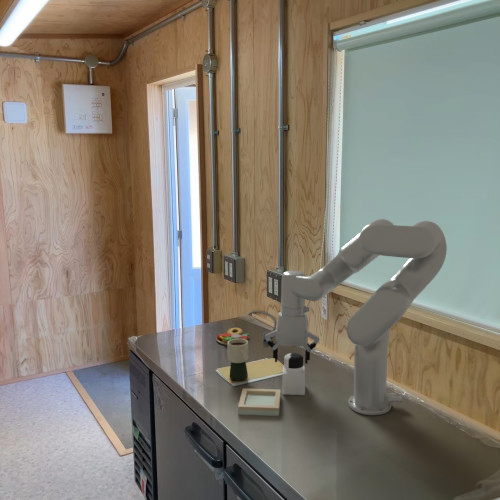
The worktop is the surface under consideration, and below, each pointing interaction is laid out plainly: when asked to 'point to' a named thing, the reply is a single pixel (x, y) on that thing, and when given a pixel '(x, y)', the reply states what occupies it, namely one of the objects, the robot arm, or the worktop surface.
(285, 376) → the medicine bottle
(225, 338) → the toy food set
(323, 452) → the worktop surface
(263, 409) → the beige square tray
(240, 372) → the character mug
